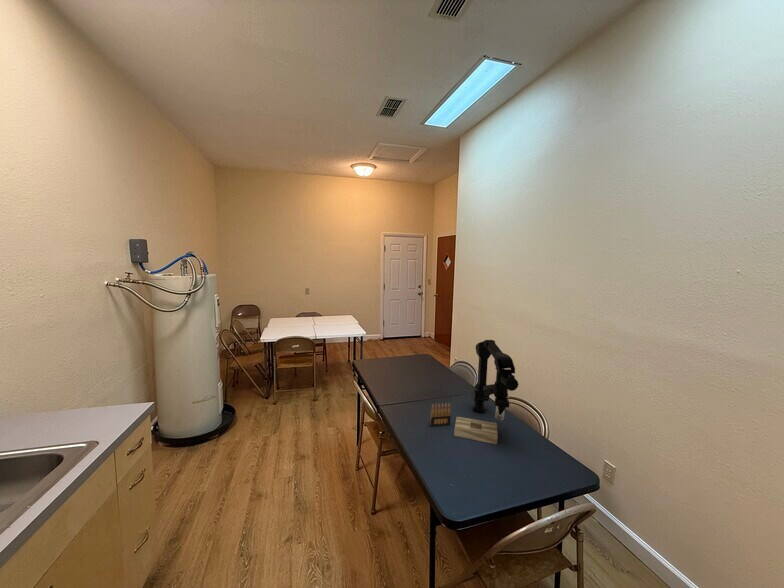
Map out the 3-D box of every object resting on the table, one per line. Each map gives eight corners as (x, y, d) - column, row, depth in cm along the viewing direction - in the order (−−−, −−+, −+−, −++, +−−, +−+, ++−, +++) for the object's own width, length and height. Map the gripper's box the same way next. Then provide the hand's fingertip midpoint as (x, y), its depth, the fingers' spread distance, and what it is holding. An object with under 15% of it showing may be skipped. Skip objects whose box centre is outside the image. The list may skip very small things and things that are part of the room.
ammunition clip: (430, 426, 163) (431, 404, 162) (429, 424, 165) (430, 403, 164) (450, 425, 165) (451, 403, 164) (449, 423, 167) (450, 401, 165)
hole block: (456, 423, 167) (456, 416, 166) (496, 430, 161) (496, 423, 161) (454, 436, 155) (454, 428, 155) (497, 444, 150) (497, 436, 149)
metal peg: (495, 415, 158) (496, 396, 156) (503, 416, 157) (505, 397, 155) (495, 419, 154) (496, 399, 153) (504, 420, 153) (505, 401, 152)
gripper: (484, 372, 164) (482, 401, 166) (485, 387, 146) (482, 419, 148) (507, 375, 161) (505, 404, 163) (510, 390, 143) (508, 423, 145)
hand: (499, 412), depth 155 cm, fingers closed on metal peg, 4 cm apart
